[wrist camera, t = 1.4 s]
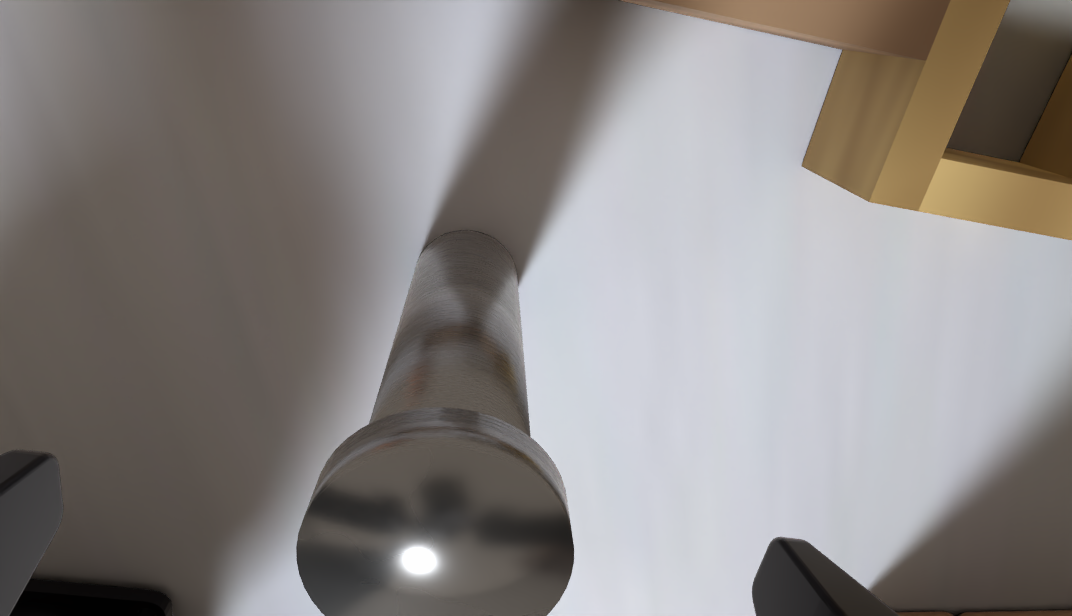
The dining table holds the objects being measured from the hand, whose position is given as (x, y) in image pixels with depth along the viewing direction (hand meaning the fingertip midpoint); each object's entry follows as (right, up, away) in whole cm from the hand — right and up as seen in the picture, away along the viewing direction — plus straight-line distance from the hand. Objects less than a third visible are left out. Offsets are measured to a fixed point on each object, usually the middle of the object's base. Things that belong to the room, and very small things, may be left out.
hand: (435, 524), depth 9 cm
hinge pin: (0, +3, +7) cm, 8 cm away
